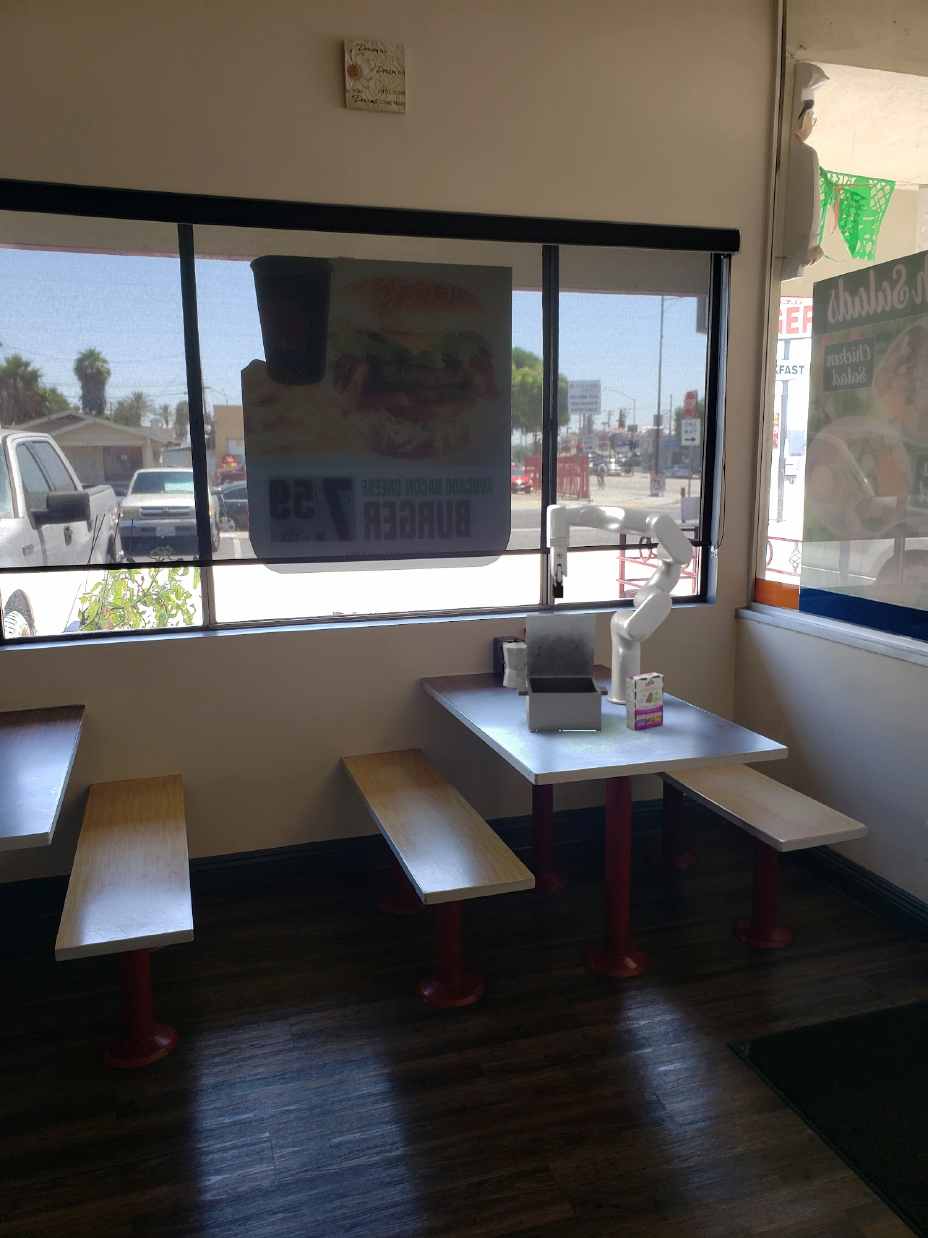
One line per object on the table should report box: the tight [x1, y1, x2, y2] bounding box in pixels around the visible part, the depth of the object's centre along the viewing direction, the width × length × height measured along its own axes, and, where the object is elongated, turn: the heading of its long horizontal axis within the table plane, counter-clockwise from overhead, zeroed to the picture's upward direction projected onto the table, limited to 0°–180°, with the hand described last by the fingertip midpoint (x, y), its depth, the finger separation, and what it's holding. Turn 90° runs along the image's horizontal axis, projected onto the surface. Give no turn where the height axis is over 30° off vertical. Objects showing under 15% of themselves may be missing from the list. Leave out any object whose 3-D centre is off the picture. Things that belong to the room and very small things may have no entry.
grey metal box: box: [517, 676, 609, 732], centre depth 285 cm, size 28×22×12 cm
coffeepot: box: [497, 637, 526, 689], centre depth 333 cm, size 15×9×18 cm, turn 44°
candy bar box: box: [625, 672, 665, 732], centre depth 278 cm, size 11×5×16 cm, turn 118°
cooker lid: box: [525, 613, 597, 677], centre depth 292 cm, size 22×22×3 cm
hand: (557, 596), depth 300 cm, fingers open, 4 cm apart
